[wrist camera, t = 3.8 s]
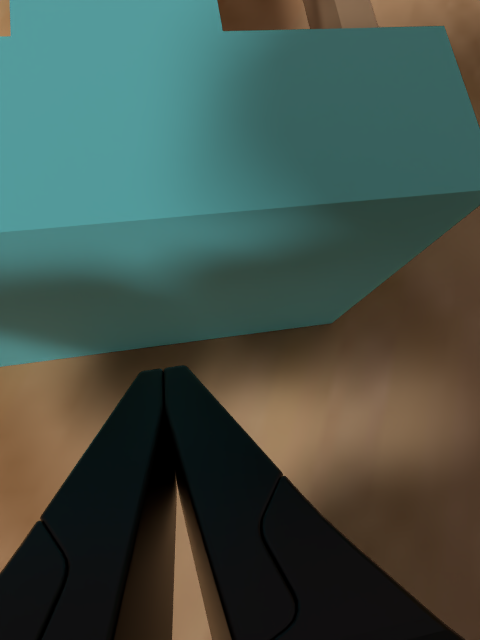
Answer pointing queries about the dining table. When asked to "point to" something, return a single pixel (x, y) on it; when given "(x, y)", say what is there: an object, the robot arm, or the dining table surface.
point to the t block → (214, 172)
